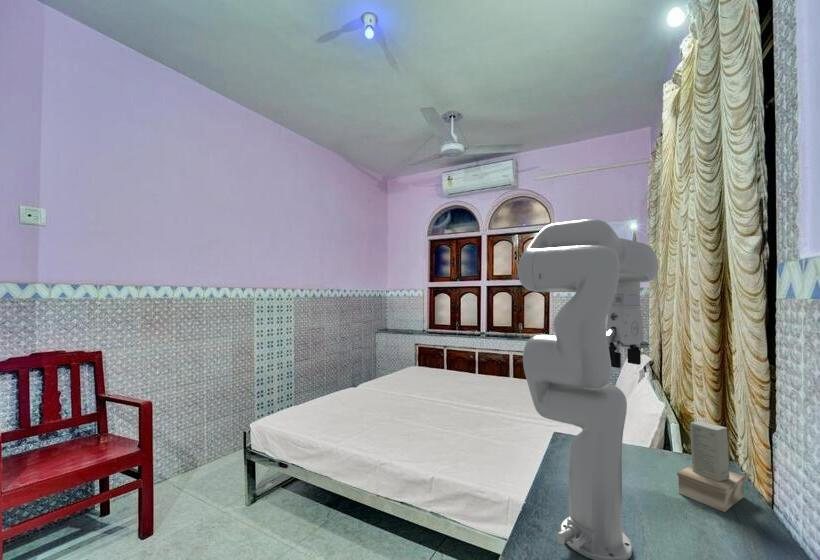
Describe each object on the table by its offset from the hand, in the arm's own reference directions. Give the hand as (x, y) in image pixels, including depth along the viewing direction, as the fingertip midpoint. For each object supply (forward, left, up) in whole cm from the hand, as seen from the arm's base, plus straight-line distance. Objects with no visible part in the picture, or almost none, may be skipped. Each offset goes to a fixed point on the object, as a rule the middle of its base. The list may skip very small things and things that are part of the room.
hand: (624, 365), depth 97 cm
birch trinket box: (+11, -15, -30) cm, 35 cm away
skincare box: (+11, -15, -25) cm, 31 cm away
